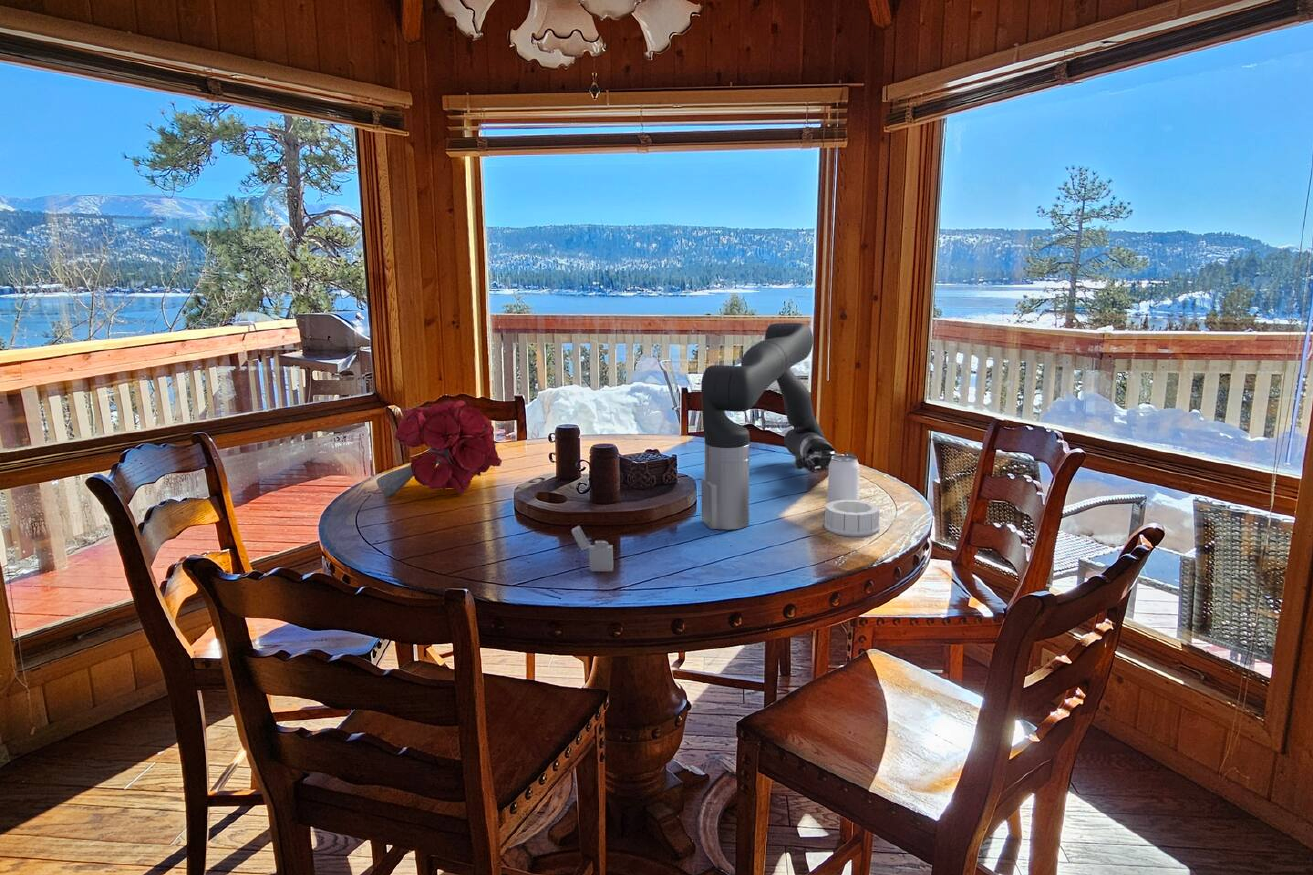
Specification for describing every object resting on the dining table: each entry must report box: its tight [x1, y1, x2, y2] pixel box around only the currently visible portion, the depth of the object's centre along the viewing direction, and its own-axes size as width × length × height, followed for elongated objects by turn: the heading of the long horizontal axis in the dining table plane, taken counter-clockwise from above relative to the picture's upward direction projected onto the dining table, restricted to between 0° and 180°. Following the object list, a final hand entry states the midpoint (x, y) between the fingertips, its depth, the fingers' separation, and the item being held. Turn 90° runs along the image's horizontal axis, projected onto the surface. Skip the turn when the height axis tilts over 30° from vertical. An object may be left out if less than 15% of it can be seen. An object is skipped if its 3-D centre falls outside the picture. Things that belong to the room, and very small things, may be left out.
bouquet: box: [376, 400, 503, 498], centre depth 192 cm, size 22×24×30 cm
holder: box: [823, 499, 880, 538], centre depth 163 cm, size 11×11×4 cm
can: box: [827, 454, 860, 503], centre depth 173 cm, size 6×6×12 cm
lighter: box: [571, 525, 614, 572], centre depth 142 cm, size 7×2×8 cm, turn 88°
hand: (832, 468), depth 184 cm, fingers open, 8 cm apart
